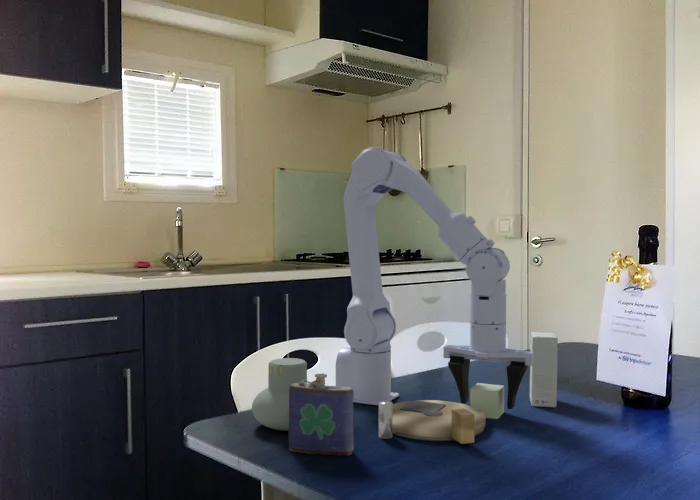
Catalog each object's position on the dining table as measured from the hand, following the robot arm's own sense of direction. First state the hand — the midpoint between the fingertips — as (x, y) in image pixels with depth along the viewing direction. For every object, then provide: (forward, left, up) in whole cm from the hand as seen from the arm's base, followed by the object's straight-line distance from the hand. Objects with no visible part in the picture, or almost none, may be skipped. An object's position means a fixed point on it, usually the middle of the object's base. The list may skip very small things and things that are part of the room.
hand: (487, 404), depth 109 cm
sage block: (0, 0, -2) cm, 2 cm away
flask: (-16, -28, -2) cm, 32 cm away
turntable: (-6, -10, -1) cm, 12 cm away
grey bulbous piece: (-26, -20, -2) cm, 33 cm away
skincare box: (+7, +11, -2) cm, 13 cm away
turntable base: (-6, -10, -1) cm, 12 cm away
